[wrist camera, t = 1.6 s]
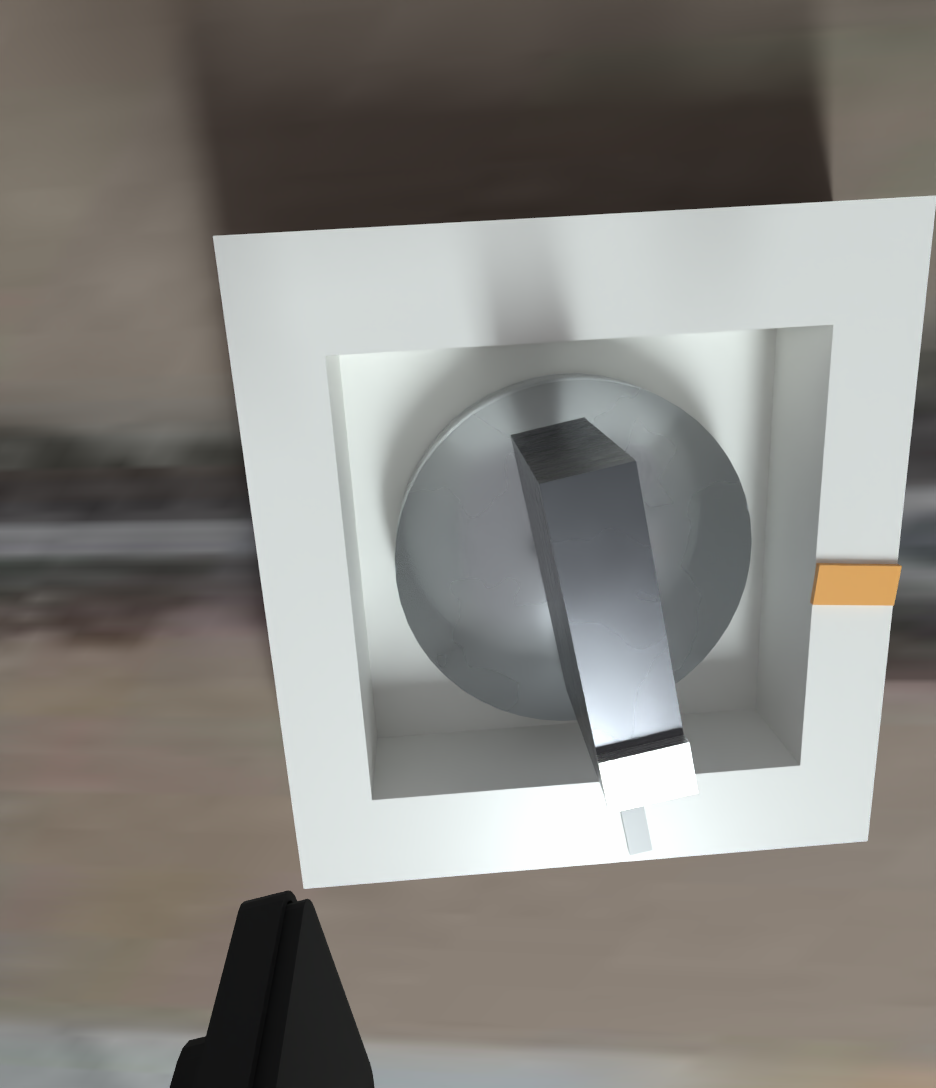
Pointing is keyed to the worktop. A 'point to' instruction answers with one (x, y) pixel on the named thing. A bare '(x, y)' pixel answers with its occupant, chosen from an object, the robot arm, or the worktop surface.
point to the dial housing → (617, 352)
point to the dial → (577, 565)
